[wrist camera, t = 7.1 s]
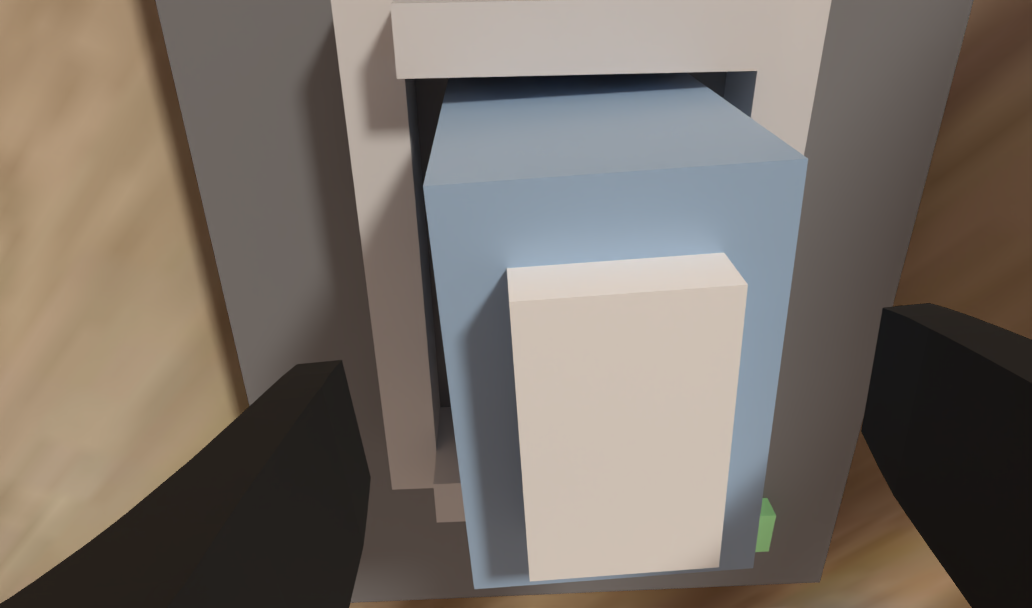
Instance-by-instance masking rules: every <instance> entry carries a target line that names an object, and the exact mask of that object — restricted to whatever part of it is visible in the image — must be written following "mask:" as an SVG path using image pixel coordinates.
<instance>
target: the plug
mask: <svg viewBox="0 0 1032 608" xmlns="http://www.w3.org/2000/svg"><path fill="white" fill-rule="evenodd" d="M807 164H808V158H807V157H805V156H804V155H802V154H801V153H800V152H798V151H797V150H795V149H794V148H792V147H791V146H790V145H788V144H787V143H785V142H784V141H783V140H781V139H780V138H778V137H777V136H776V135H774V134H773V133H771V132H770V131H769V130H767V129H766V128H764V127H763V126H761V125H760V124H759V123H757V122H756V121H754V120H753V119H752V118H750V117H749V116H747V115H746V114H745V113H743V112H742V111H740V110H739V109H737V108H736V107H735V106H733V105H732V104H730V103H729V102H728V101H726V100H725V99H723V98H722V97H721V96H719V95H718V94H716V93H715V92H713V91H712V90H711V89H709V88H708V87H706V86H705V85H704V84H702V83H701V82H699V81H698V80H697V79H695V78H694V77H692V76H691V75H690V74H688V73H687V72H683V73H639V74H594V75H550V76H505V77H461V78H448V82H447V86H446V90H445V95H444V99H443V103H442V108H441V112H440V116H439V120H438V125H437V129H436V133H435V137H434V142H433V146H432V150H431V154H430V159H429V163H428V167H427V171H426V176H425V180H424V184H423V190H424V198H425V206H426V213H427V221H428V229H429V237H430V245H431V253H432V261H433V269H434V276H435V284H436V292H437V300H438V308H439V316H440V324H441V331H442V339H443V347H444V355H445V363H446V371H447V379H448V386H449V394H450V402H451V410H452V418H453V426H454V434H455V442H456V449H457V457H458V465H459V473H460V481H461V489H462V497H463V504H464V512H465V520H466V528H467V536H468V544H469V552H470V559H471V567H472V575H473V583H474V589H485V588H498V587H511V586H524V585H538V584H551V583H564V582H577V581H590V580H604V579H617V578H630V577H643V576H656V575H670V574H683V573H696V572H709V571H723V570H736V569H749V568H753V565H754V557H755V550H756V543H757V535H758V528H759V520H760V513H761V506H762V498H763V491H764V483H765V476H766V468H767V461H768V454H769V446H770V439H771V431H772V424H773V416H774V409H775V402H776V394H777V387H778V379H779V372H780V365H781V357H782V350H783V342H784V335H785V327H786V320H787V313H788V305H789V298H790V290H791V283H792V275H793V268H794V261H795V253H796V246H797V238H798V231H799V224H800V216H801V209H802V201H803V194H804V186H805V179H806V172H807Z"/></svg>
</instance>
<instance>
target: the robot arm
mask: <svg viewBox="0 0 1032 608" xmlns="http://www.w3.org/2000/svg"><path fill="white" fill-rule="evenodd" d="M861 432H862V434H863V436H864V438H865V440H866V442H867V444H868V446H869V448H870V450H871V452H872V454H873V456H874V459H875V461H876V463H877V465H878V467H879V469H880V471H881V472H882V474H883V476H884V478H885V480H886V482H887V484H888V486H889V487H890V489H891V491H892V493H893V495H894V497H895V498H896V500H897V501H898V502H899V504H900V505H901V507H902V508H903V510H904V511H905V513H906V514H907V516H908V517H909V519H910V520H911V522H912V523H913V524H914V526H915V527H916V529H917V530H918V532H919V533H920V535H921V536H922V538H923V539H924V540H925V542H926V543H927V545H928V546H929V548H930V549H931V550H932V552H933V553H934V555H935V556H936V558H937V559H938V560H939V562H940V563H941V565H942V566H943V567H944V569H945V570H946V572H947V573H948V575H949V576H950V577H951V579H952V580H953V582H954V583H955V584H956V586H957V587H958V589H959V590H960V592H961V593H962V594H963V596H964V597H965V599H966V600H967V601H968V603H969V604H970V606H971V607H972V608H1032V340H1031V339H1028V338H1026V337H1023V336H1021V335H1018V334H1016V333H1013V332H1011V331H1008V330H1005V329H1003V328H1000V327H998V326H995V325H993V324H990V323H987V322H985V321H982V320H979V319H977V318H974V317H971V316H968V315H966V314H963V313H960V312H957V311H954V310H951V309H948V308H945V307H941V306H938V305H934V304H930V303H926V304H915V305H905V306H895V307H884V308H883V309H882V315H881V320H880V326H879V332H878V338H877V343H876V349H875V355H874V361H873V366H872V372H871V378H870V384H869V389H868V395H867V401H866V407H865V412H864V418H863V424H862V430H861ZM370 481H371V476H370V472H369V468H368V464H367V460H366V456H365V452H364V448H363V444H362V439H361V435H360V431H359V427H358V423H357V419H356V415H355V411H354V407H353V403H352V399H351V395H350V391H349V386H348V382H347V378H346V374H345V370H344V366H343V362H342V360H335V361H325V362H315V363H304V364H297V365H295V366H294V367H293V368H292V369H290V370H289V371H288V372H287V373H285V374H284V375H283V376H282V377H281V378H280V379H279V380H277V381H276V382H275V383H274V384H273V385H272V386H271V387H270V388H269V389H268V390H266V391H265V392H264V393H263V394H262V395H261V396H260V397H259V398H258V399H257V400H256V401H255V402H254V403H252V404H251V405H250V406H249V407H248V408H247V409H246V410H245V411H244V412H243V413H242V414H241V415H240V416H238V417H237V418H236V419H235V420H234V421H233V422H232V423H231V424H230V425H229V426H227V427H226V428H225V429H224V430H223V431H222V432H221V433H220V434H219V435H218V436H216V437H215V438H214V439H213V440H212V441H211V442H210V443H209V444H208V445H207V446H206V447H204V448H203V449H202V450H201V451H200V452H199V453H198V454H197V455H196V456H194V457H193V458H192V459H191V460H190V461H189V462H187V463H186V464H185V465H184V466H183V467H181V468H180V469H179V470H178V471H177V472H175V473H174V474H173V475H172V476H171V477H169V478H168V479H167V480H166V481H165V482H163V483H162V484H161V485H160V486H159V487H158V488H156V489H155V490H154V491H153V492H152V493H150V494H149V495H148V496H147V497H146V498H144V499H143V500H142V501H141V502H140V503H138V504H137V505H136V506H135V507H134V508H132V509H131V510H130V511H129V512H128V513H126V514H125V515H124V516H123V517H121V518H120V519H119V520H117V521H116V522H115V523H114V524H112V525H111V526H110V527H108V528H107V529H106V530H105V531H103V532H102V533H101V534H99V535H98V536H97V537H95V538H94V539H93V540H91V541H90V542H89V543H87V544H86V545H85V546H83V547H82V548H81V549H79V550H78V551H76V552H75V553H73V554H72V555H71V556H69V557H68V558H66V559H65V560H64V561H62V562H61V563H59V564H58V565H57V566H55V567H54V568H52V569H51V570H50V571H48V572H47V573H45V574H44V575H43V576H41V577H40V578H38V579H37V580H36V581H34V582H33V583H31V584H30V585H28V586H27V587H25V588H24V589H22V590H21V591H19V592H18V593H16V594H15V595H13V596H12V597H10V598H9V599H7V600H6V601H4V602H2V603H1V604H0V608H349V606H350V602H351V598H352V593H353V589H354V585H355V581H356V576H357V572H358V568H359V564H360V559H361V555H362V550H363V546H364V538H365V530H366V521H367V512H368V502H369V491H370Z"/></svg>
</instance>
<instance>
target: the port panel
mask: <svg viewBox="0 0 1032 608" xmlns="http://www.w3.org/2000/svg"><path fill="white" fill-rule="evenodd" d="M155 1H156V6H157V10H158V14H159V19H160V23H161V27H162V31H163V36H164V40H165V44H166V49H167V53H168V57H169V62H170V66H171V70H172V74H173V79H174V83H175V87H176V92H177V96H178V100H179V105H180V109H181V113H182V118H183V122H184V126H185V130H186V135H187V139H188V143H189V148H190V152H191V156H192V161H193V165H194V169H195V174H196V178H197V182H198V186H199V191H200V195H201V199H202V204H203V208H204V212H205V217H206V221H207V225H208V230H209V234H210V238H211V242H212V247H213V251H214V255H215V260H216V264H217V268H218V273H219V277H220V281H221V285H222V290H223V294H224V298H225V303H226V307H227V311H228V316H229V320H230V324H231V329H232V333H233V337H234V341H235V346H236V350H237V354H238V359H239V363H240V367H241V372H242V376H243V380H244V385H245V389H246V393H247V397H248V402H249V406H250V405H251V404H252V403H254V402H255V401H256V400H257V399H258V398H259V397H260V396H261V395H262V394H263V393H264V392H265V391H266V390H268V389H269V388H270V387H271V386H272V385H273V384H274V383H275V382H276V381H277V380H279V379H280V378H281V377H282V376H283V375H284V374H285V373H287V372H288V371H289V370H290V369H292V368H293V367H294V366H295V365H297V364H304V363H315V362H325V361H335V360H342V362H343V366H344V370H345V374H346V378H347V382H348V386H349V391H350V395H351V399H352V403H353V407H354V411H355V415H356V419H357V423H358V427H359V431H360V435H361V439H362V444H363V448H364V452H365V456H366V460H367V464H368V468H369V472H370V476H371V481H370V491H369V502H368V512H367V521H366V530H365V538H364V546H363V550H362V555H361V559H360V564H359V568H358V572H357V576H356V581H355V585H354V589H353V593H352V598H351V602H350V603H354V602H377V601H400V600H423V599H446V598H469V597H492V596H515V595H538V594H561V593H583V592H606V591H629V590H652V589H675V588H698V587H721V586H744V585H767V584H790V583H813V582H820V580H821V576H822V572H823V568H824V564H825V561H826V557H827V553H828V549H829V546H830V542H831V538H832V534H833V530H834V527H835V523H836V519H837V515H838V511H839V508H840V504H841V500H842V496H843V493H844V489H845V485H846V481H847V477H848V474H849V470H850V466H851V462H852V458H853V455H854V451H855V447H856V443H857V440H858V436H859V432H860V428H861V424H862V421H863V417H864V412H865V407H866V401H867V395H868V389H869V384H870V378H871V372H872V366H873V361H874V355H875V349H876V343H877V338H878V332H879V326H880V320H881V315H882V309H883V308H884V307H893V303H894V299H895V296H896V292H897V288H898V284H899V280H900V277H901V273H902V269H903V265H904V262H905V258H906V254H907V250H908V246H909V243H910V239H911V235H912V231H913V227H914V224H915V220H916V216H917V212H918V209H919V205H920V201H921V197H922V193H923V190H924V186H925V182H926V178H927V174H928V171H929V167H930V163H931V159H932V156H933V152H934V148H935V144H936V140H937V137H938V133H939V129H940V125H941V121H942V118H943V114H944V110H945V106H946V103H947V99H948V95H949V91H950V87H951V84H952V80H953V76H954V72H955V68H956V65H957V61H958V57H959V53H960V50H961V46H962V42H963V38H964V34H965V31H966V27H967V23H968V19H969V15H970V12H971V8H972V4H973V0H155ZM683 72H687V73H688V74H690V75H691V76H692V77H694V78H695V79H697V80H698V81H699V82H701V83H702V84H704V85H705V86H706V87H708V88H709V89H711V90H712V91H713V92H715V93H716V94H718V95H719V96H721V97H722V98H723V99H725V100H726V101H728V102H729V103H730V104H732V105H733V106H735V107H736V108H737V109H739V110H740V111H742V112H743V113H745V114H746V115H747V116H749V117H750V118H752V119H753V120H754V121H756V122H757V123H759V124H760V125H761V126H763V127H764V128H766V129H767V130H769V131H770V132H771V133H773V134H774V135H776V136H777V137H778V138H780V139H781V140H783V141H784V142H785V143H787V144H788V145H790V146H791V147H792V148H794V149H795V150H797V151H798V152H800V153H801V154H802V155H804V156H805V157H807V158H808V164H807V172H806V179H805V186H804V194H803V201H802V209H801V216H800V224H799V231H798V238H797V246H796V253H795V261H794V268H793V275H792V283H791V290H790V298H789V305H788V313H787V320H786V327H785V335H784V342H783V350H782V357H781V365H780V372H779V379H778V387H777V394H776V402H775V409H774V416H773V424H772V431H771V439H770V446H769V454H768V461H767V468H766V476H765V483H764V491H763V498H762V506H761V513H760V520H759V528H758V535H757V543H756V550H755V557H754V565H753V568H749V569H736V570H723V571H709V572H696V573H683V574H670V575H656V576H643V577H630V578H617V579H604V580H590V581H577V582H564V583H551V584H538V585H524V586H511V587H498V588H485V589H474V583H473V575H472V567H471V559H470V552H469V544H468V536H467V528H466V520H465V512H464V504H463V497H462V489H461V481H460V473H459V465H458V457H457V449H456V442H455V434H454V426H453V418H452V410H451V402H450V394H449V386H448V379H447V371H446V363H445V355H444V347H443V339H442V331H441V324H440V316H439V308H438V300H437V292H436V284H435V276H434V269H433V261H432V253H431V245H430V237H429V229H428V221H427V213H426V206H425V198H424V190H423V184H424V180H425V176H426V171H427V167H428V163H429V159H430V154H431V150H432V146H433V142H434V137H435V133H436V129H437V125H438V120H439V116H440V112H441V108H442V103H443V99H444V95H445V90H446V86H447V82H448V78H461V77H505V76H550V75H594V74H639V73H683Z"/></svg>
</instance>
